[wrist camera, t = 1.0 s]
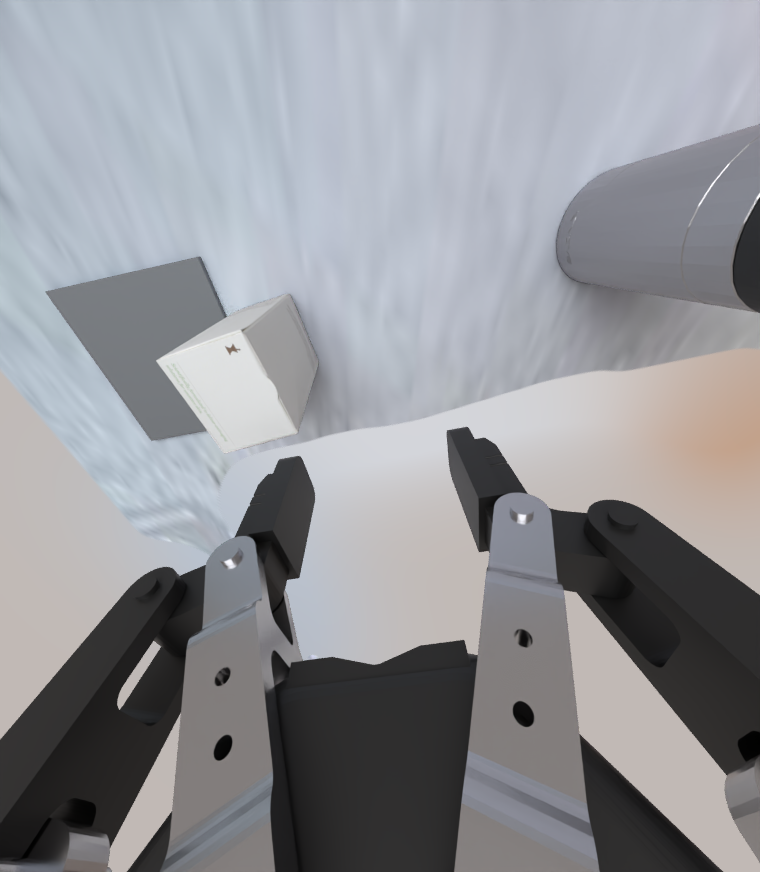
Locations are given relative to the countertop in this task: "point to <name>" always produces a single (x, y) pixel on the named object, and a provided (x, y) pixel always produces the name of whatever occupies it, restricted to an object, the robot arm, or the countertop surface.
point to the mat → (144, 335)
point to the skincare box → (247, 374)
